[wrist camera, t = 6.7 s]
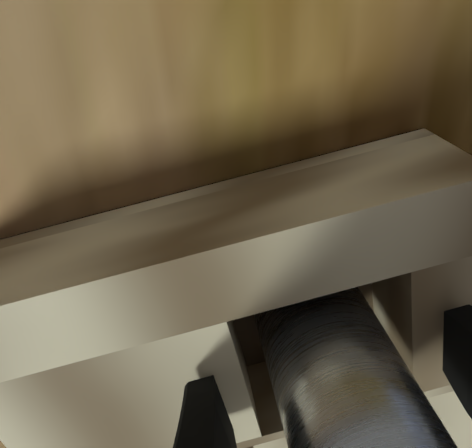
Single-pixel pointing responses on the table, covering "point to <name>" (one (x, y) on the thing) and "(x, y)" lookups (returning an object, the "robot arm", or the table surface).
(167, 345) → the socket block
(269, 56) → the table surface
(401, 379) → the pin
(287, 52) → the table surface
